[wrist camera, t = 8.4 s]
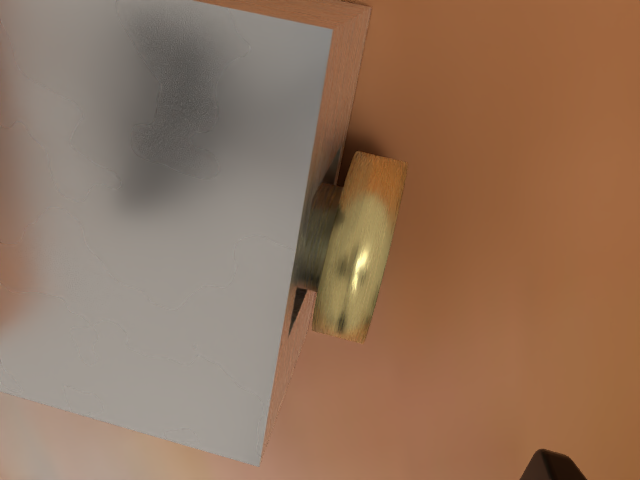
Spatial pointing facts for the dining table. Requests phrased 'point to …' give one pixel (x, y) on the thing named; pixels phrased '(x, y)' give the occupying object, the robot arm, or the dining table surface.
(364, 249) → the lynch pin
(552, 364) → the dining table surface
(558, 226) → the dining table surface
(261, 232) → the block
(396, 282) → the dining table surface
